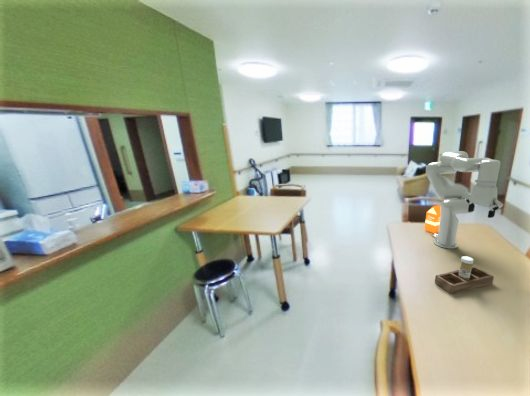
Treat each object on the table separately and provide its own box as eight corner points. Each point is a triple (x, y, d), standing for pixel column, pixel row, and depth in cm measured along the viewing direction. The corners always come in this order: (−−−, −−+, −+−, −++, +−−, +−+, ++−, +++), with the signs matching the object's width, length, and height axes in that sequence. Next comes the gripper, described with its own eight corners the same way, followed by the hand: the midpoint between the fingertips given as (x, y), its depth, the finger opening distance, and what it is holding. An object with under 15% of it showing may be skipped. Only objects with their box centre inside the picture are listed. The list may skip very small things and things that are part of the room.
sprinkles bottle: (457, 282, 117) (461, 258, 113) (457, 277, 120) (461, 254, 116) (469, 285, 114) (473, 261, 110) (469, 280, 117) (473, 257, 114)
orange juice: (424, 229, 178) (427, 205, 173) (432, 227, 181) (435, 203, 175) (434, 233, 171) (438, 208, 166) (442, 230, 174) (446, 205, 168)
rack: (434, 282, 119) (435, 275, 118) (472, 273, 124) (474, 266, 123) (451, 294, 111) (453, 286, 109) (492, 283, 115) (493, 275, 114)
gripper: (463, 181, 127) (458, 210, 132) (500, 188, 111) (493, 220, 115) (474, 179, 128) (468, 208, 133) (512, 186, 112) (504, 218, 117)
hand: (480, 214), depth 124 cm, fingers open, 9 cm apart
